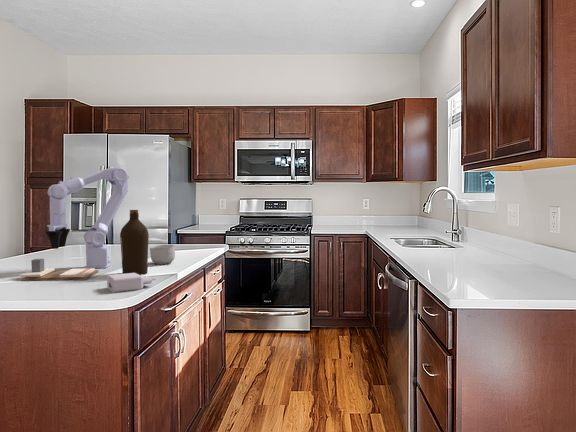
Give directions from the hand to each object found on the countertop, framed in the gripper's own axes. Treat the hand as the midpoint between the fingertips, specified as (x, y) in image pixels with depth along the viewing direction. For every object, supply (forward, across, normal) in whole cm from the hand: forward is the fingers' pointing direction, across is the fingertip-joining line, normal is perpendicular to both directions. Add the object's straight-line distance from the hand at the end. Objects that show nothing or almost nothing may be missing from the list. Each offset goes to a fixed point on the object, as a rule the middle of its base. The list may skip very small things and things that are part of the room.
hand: (58, 247), depth 200 cm
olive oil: (+10, +10, +32) cm, 35 cm away
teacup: (+10, -17, +39) cm, 44 cm away
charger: (+10, +38, +37) cm, 54 cm away
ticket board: (+9, +14, +6) cm, 18 cm away
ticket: (+8, +14, +11) cm, 20 cm away
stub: (+8, +14, -3) cm, 16 cm away
